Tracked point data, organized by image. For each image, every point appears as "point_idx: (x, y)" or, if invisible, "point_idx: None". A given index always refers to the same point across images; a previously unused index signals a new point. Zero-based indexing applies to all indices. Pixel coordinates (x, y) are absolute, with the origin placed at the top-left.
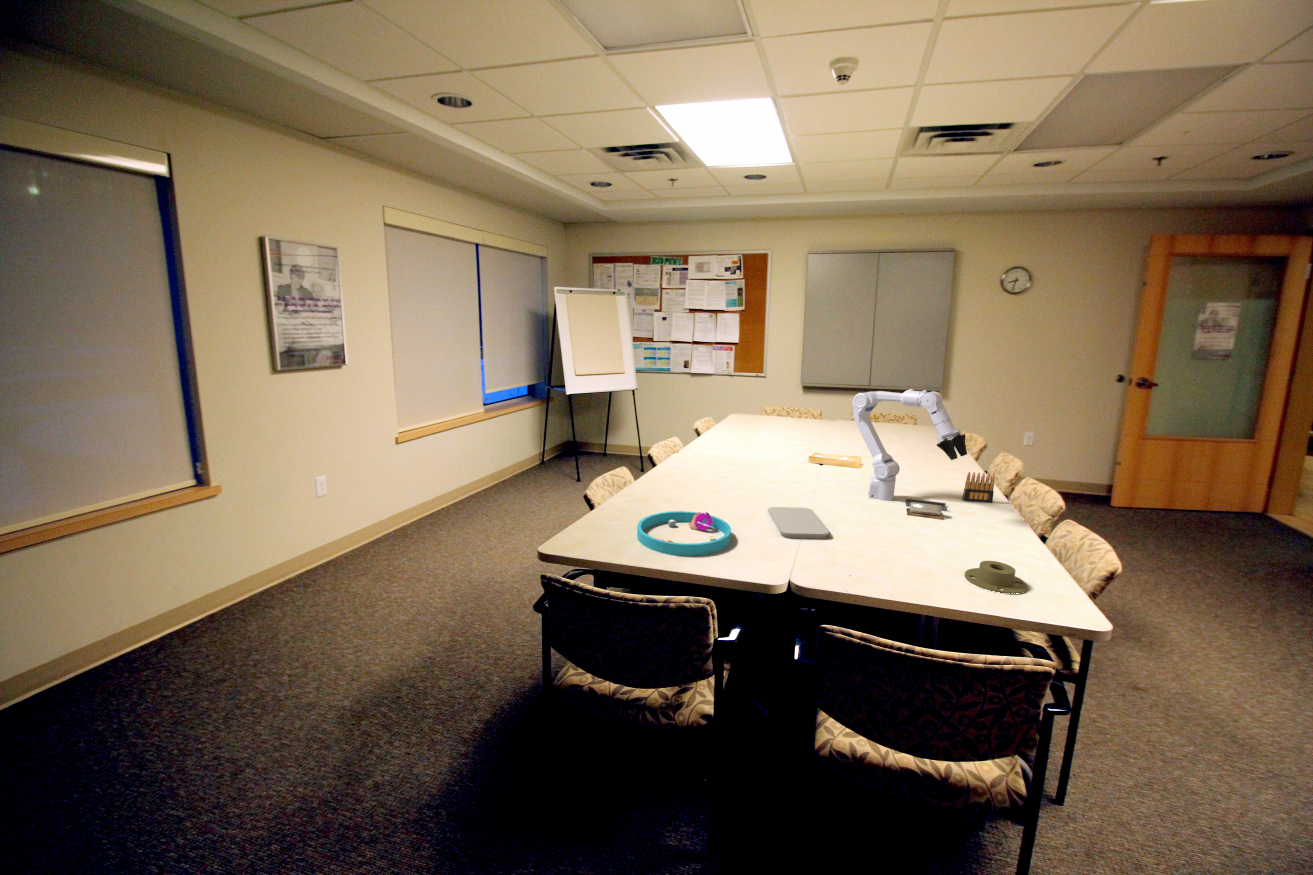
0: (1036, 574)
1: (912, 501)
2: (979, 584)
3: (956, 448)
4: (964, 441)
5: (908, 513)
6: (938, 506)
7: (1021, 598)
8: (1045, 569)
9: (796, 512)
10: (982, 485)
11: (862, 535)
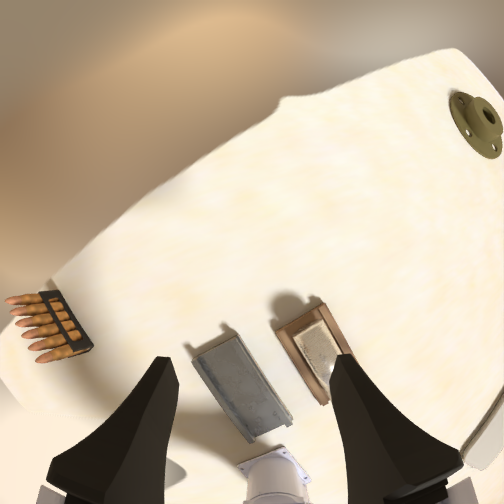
0: (415, 85)
1: (245, 426)
2: (499, 136)
3: (165, 446)
4: (108, 436)
5: None
6: (319, 334)
7: None
8: (387, 78)
9: (488, 444)
10: (43, 317)
11: (499, 340)
